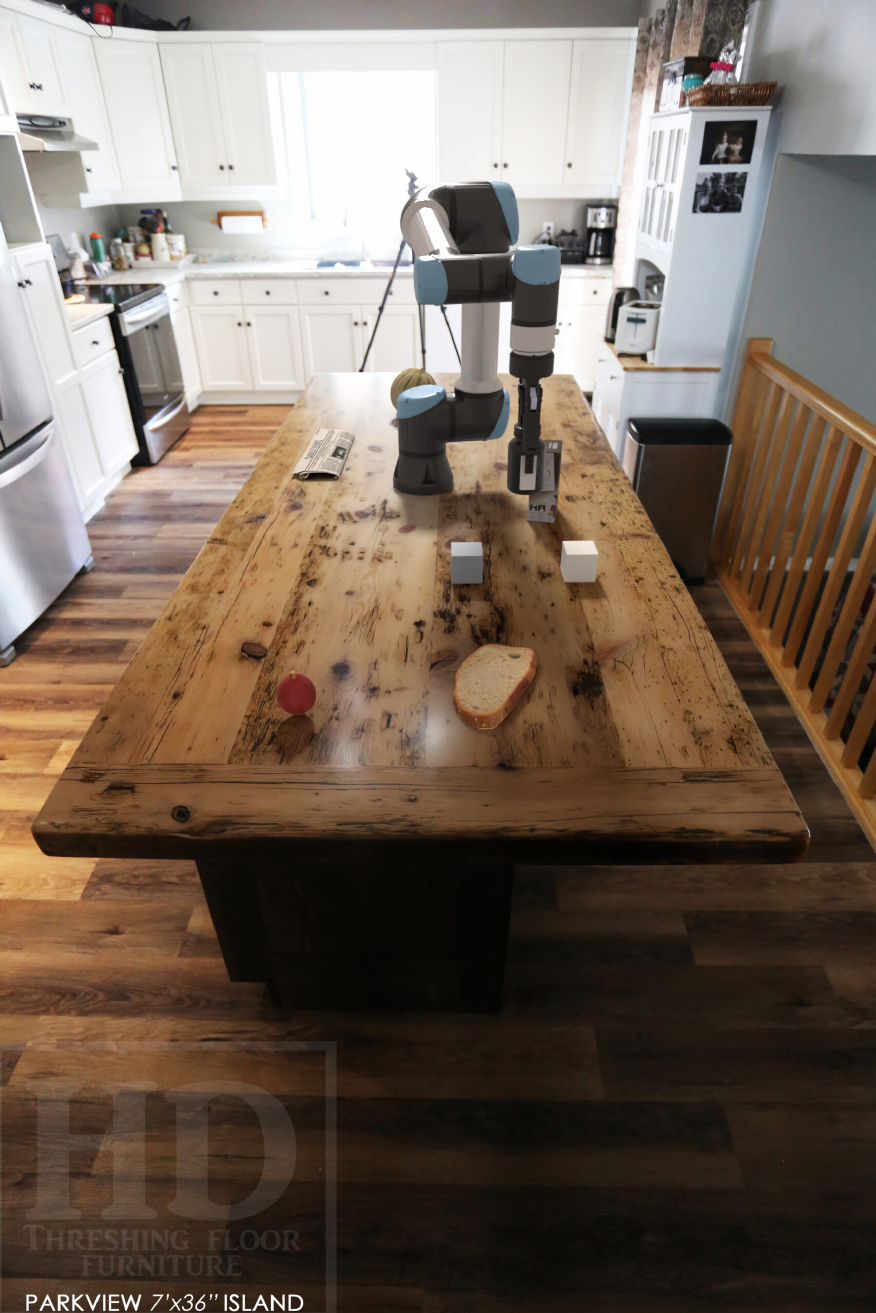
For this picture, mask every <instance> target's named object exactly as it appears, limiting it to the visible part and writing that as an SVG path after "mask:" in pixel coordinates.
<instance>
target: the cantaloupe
mask: <svg viewBox="0 0 876 1313" xmlns="http://www.w3.org/2000/svg"><path fill="white" fill-rule="evenodd" d="M422 385H438V384H437V382H436V380H435V379H434V377H433V376H432V375H431V374H430V373H429V372H427V371H426V370H425V367H424V366H422V367H421V368H416V367H415V368H414V367H410V368H406V369H404V370H402V371H401V372H400V373H399V374H398V375H397V376H396V377H395V378H394V379H393V382H392V384H391V386H390V393H389V394H390V401H391V404H392V406H393V407H394V409H395V410H396V411H397V399H398V397H399V395H400V394H401V393H402V392H404V391H406V390H408V389H410V388H413V387H417V386H422Z"/></svg>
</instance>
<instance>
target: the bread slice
mask: <svg viewBox="0 0 876 1313" xmlns="http://www.w3.org/2000/svg"><path fill="white" fill-rule="evenodd" d="M538 660H539V659H538V656H537V654H536V652H535V651H534V650H533V649H532V648H528V647H526V646H525V647H524V646H521V647H520V646H511V645H504V644H500V643H499V644H498V643H488V644H484V645H482V646H480V647H479V648H477V649H476V650H475V651H474V652H472V653H471V654H469V656H467V657H466V658H465V660H464V661H463V662H462V663H461V664H460V666H459V667H458V668H457V671H456V673H455V676H454V681H455V684H454V686H453V688H454V692H453V691H452V695H453V698H452V705H454V706H455V708H454V710H455V709H456V710H455V712H456V711H457V712H456V714H457V713H458V714H459V716H460V717H461V718H462V719H463V720H464V721H466V722H467V723H469V724H470V725H472V726H475V727H476V728H475V727H474V728H475V729H477V727H478V728H492V727H494V726H496V725H498V724H500V725H501V723H500V722H502V721H503V720H504V719H505V718H506V717H507V716H508V715H509V713H510V712H511V711H513V710H514V709H515V707H516V706H517V704H518V703H519V701H520V700H521V699H522V697H523V696H524V694H525V693H526V691H527V689H528V688H529V687H530V685H531V683H532V681H533V679H534V677H535V675H536V669H537V666H538V663H539V662H538ZM517 702H518V703H517ZM515 705H516V706H515ZM454 706H453V707H454ZM511 713H512V712H511ZM511 713H510V714H511ZM458 714H457V715H458ZM459 716H458V717H459ZM509 716H510V715H509ZM509 716H508V717H509ZM460 717H459V718H460ZM508 717H507V718H508ZM461 718H460V719H461ZM507 718H506V719H507ZM462 719H461V720H462ZM506 719H505V720H506ZM463 720H462V721H463ZM505 720H504V721H505ZM464 721H463V722H464ZM504 721H503V722H504ZM466 722H465V723H466ZM503 722H502V723H503ZM467 723H466V724H467ZM469 724H468V725H469ZM470 725H469V726H470ZM472 726H471V727H472Z"/></svg>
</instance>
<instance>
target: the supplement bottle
mask: <svg viewBox="0 0 876 1313" xmlns="http://www.w3.org/2000/svg"><path fill="white" fill-rule="evenodd" d="M541 437H542V424H541V423H540V432H539V455H537V463H536V479H535V490H520V468H521V456H518V452H522V450H523V421H522V422H518V421H517V422H516V423H515V424H514V426H513V438H512V439H510V440H509V442H508V445H507V464H506V470H507V473H506V487H507V490H508V491H509V492H510V493H512V494H514V495H515V494H516V495H520V496H529V495H533V494H537V493H539V492H541V491H542V489H543V487H544V472H545V454H546V444H545V442H544V441H543V440H544V439H543V438H541Z"/></svg>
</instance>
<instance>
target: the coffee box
mask: <svg viewBox="0 0 876 1313" xmlns="http://www.w3.org/2000/svg"><path fill="white" fill-rule="evenodd" d="M542 440H543V441H544V442H545V444H546V454H545V472H544V487H543V489H542V491H541V492H539V493H537V494H533V495H528V509H527V521H529V522H540V523H543V522H544V523H549V524H550V523H551V524H553V523H555V521H556V516H557V511H558V506H559V505H558V504H559V503H558V502H559V494H560V493H559V492H560V479H561V466H562V454H563V453H562V452H563V440H562V439H561V440H559V439H542Z"/></svg>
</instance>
